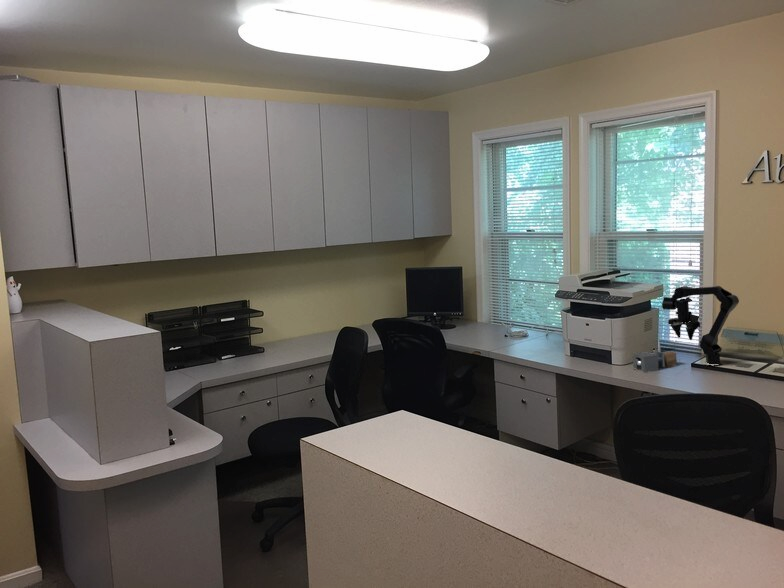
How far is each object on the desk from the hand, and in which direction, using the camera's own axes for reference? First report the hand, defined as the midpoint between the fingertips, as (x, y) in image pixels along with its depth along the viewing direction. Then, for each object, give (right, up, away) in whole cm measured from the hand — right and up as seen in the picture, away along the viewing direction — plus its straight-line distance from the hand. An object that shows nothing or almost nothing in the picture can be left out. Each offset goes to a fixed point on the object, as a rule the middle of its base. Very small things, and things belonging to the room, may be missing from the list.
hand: (684, 338), depth 345 cm
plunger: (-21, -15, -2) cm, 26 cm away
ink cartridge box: (-5, -11, +33) cm, 35 cm away
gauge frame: (-18, -15, -1) cm, 24 cm away
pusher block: (-9, -14, -1) cm, 17 cm away
